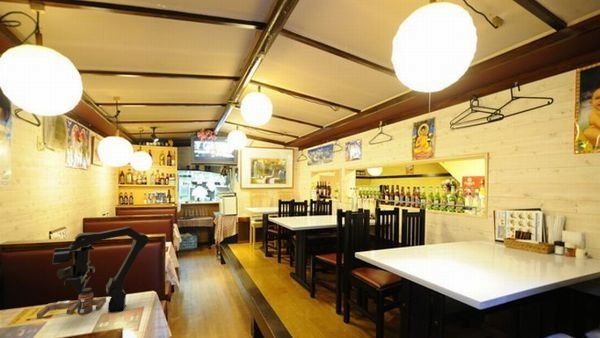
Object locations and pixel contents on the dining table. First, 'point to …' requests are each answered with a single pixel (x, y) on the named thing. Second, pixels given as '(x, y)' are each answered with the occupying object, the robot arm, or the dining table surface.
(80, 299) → the supplement bottle
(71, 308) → the brown wooden rack
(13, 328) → the dining table surface
